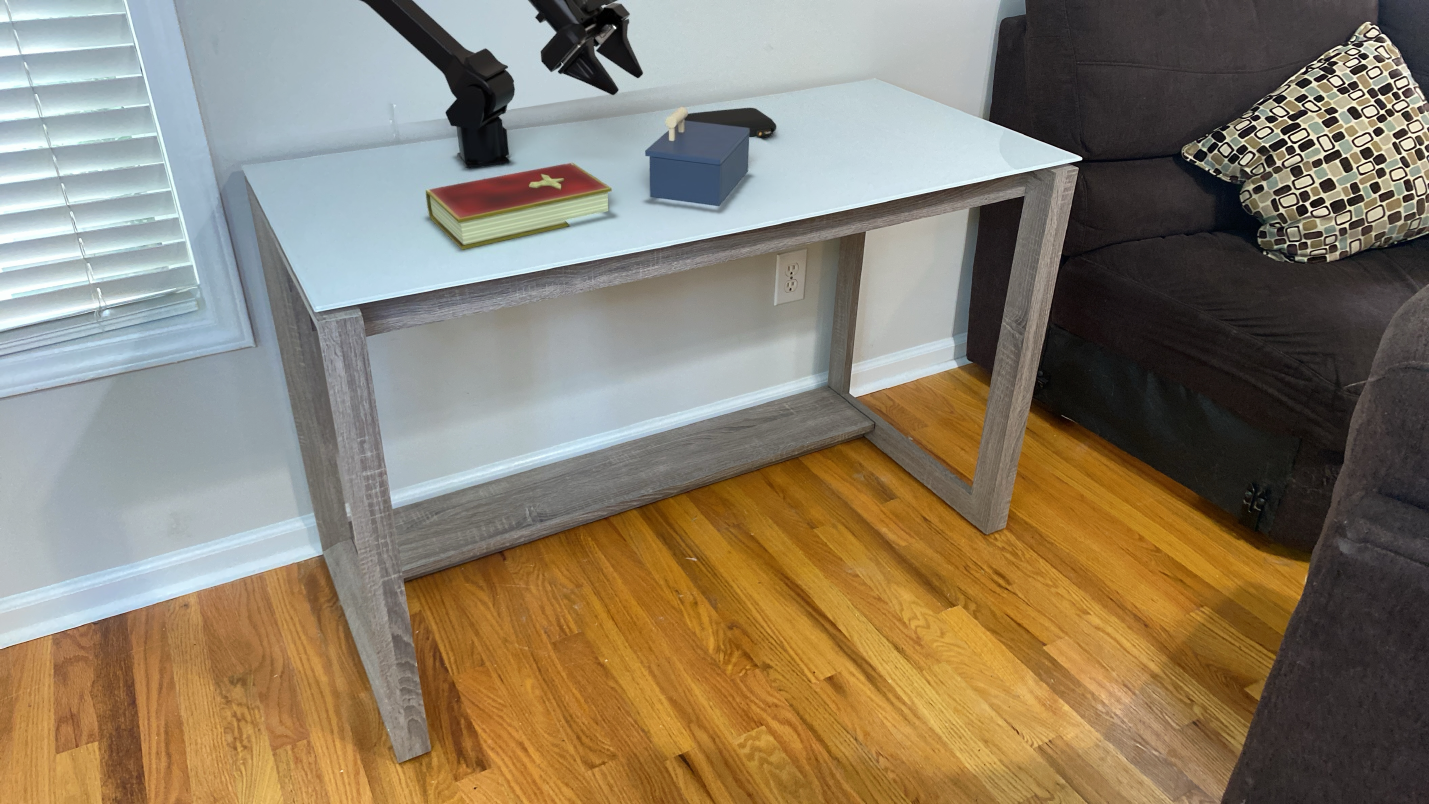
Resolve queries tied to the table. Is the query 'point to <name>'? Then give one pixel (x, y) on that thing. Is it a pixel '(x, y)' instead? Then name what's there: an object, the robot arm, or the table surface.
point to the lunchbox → (698, 177)
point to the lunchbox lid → (696, 140)
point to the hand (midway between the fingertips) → (628, 84)
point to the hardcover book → (515, 204)
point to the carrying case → (738, 120)
